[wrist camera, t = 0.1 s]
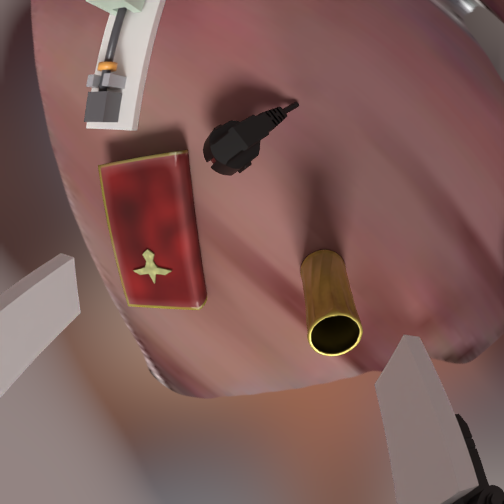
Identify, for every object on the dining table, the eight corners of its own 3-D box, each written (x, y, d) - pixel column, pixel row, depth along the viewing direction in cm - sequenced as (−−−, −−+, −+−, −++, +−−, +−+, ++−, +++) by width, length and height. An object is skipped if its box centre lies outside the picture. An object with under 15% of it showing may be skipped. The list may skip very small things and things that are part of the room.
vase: (354, 267, 38) (379, 331, 25) (323, 298, 40) (334, 368, 27) (321, 240, 37) (335, 296, 24) (291, 273, 40) (288, 339, 26)
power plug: (314, 120, 31) (239, 172, 27) (283, 142, 38) (217, 190, 34) (285, 83, 30) (203, 127, 26) (258, 110, 37) (188, 153, 33)
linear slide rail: (132, -34, 24) (116, -47, 19) (179, -41, 24) (166, -58, 19) (92, 128, 35) (68, 129, 30) (137, 130, 35) (115, 131, 30)
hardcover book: (190, 149, 36) (178, 151, 32) (209, 295, 43) (201, 311, 39) (113, 162, 37) (96, 165, 34) (139, 293, 45) (127, 307, 41)
